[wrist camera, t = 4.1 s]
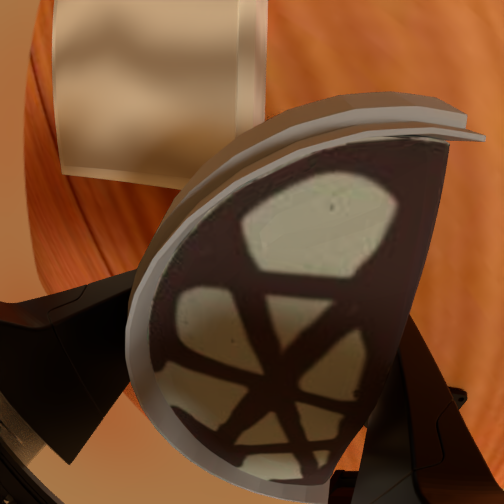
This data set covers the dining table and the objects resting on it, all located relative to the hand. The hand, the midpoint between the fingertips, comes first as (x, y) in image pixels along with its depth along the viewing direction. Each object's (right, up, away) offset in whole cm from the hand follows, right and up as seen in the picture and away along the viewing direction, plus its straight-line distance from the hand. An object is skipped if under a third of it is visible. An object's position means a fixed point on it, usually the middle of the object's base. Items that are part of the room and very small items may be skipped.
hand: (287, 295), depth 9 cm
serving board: (-7, +13, +7) cm, 17 cm away
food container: (0, +2, +6) cm, 6 cm away
